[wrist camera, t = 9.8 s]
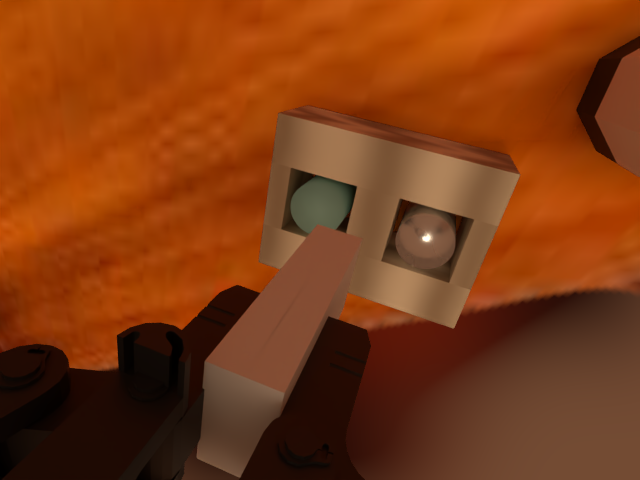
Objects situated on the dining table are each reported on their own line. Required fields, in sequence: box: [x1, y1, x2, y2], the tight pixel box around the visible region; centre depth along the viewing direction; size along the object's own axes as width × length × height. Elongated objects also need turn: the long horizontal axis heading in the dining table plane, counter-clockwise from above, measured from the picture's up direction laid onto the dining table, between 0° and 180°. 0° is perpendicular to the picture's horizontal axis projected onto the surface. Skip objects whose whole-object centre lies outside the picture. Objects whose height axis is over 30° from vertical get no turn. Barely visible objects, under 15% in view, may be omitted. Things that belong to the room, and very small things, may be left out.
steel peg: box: [395, 201, 456, 269], centre depth 30 cm, size 4×4×6 cm
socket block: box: [259, 105, 520, 328], centre depth 31 cm, size 16×12×6 cm
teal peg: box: [291, 175, 357, 234], centre depth 31 cm, size 4×4×6 cm
